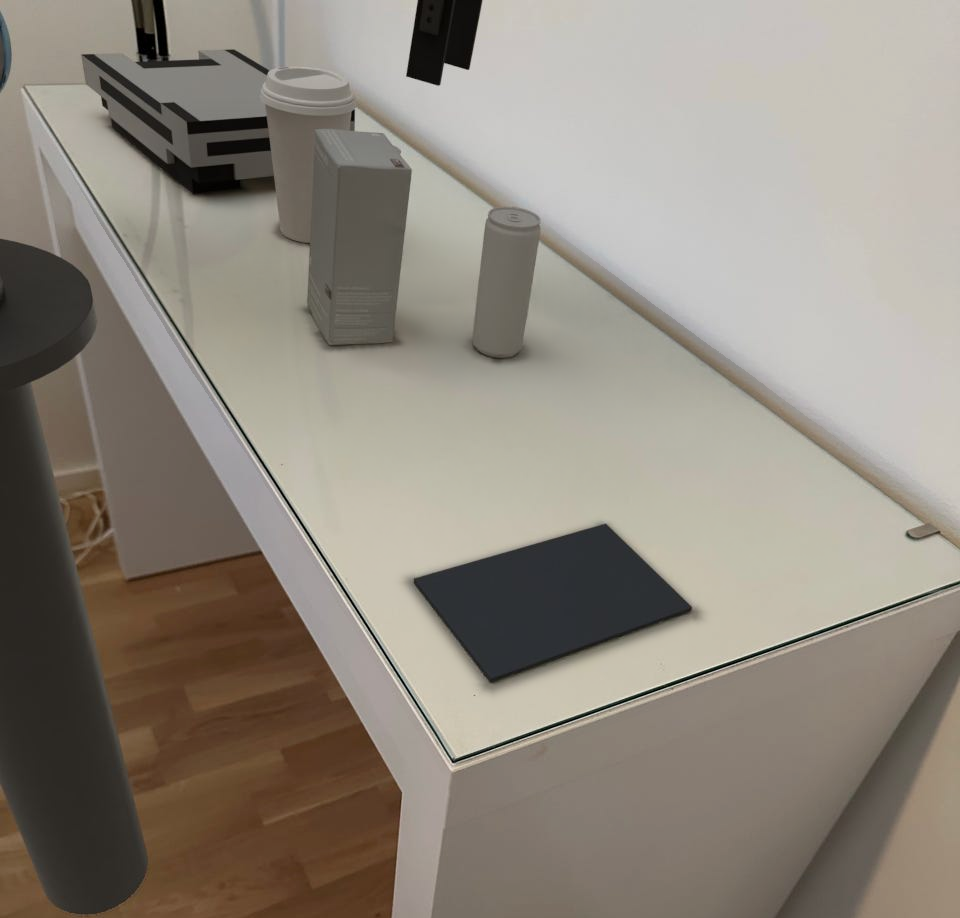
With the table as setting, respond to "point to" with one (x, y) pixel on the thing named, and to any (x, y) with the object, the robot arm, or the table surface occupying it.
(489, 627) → the mat
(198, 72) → the game console
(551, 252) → the table surface
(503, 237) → the beverage can
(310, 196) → the coffee cup
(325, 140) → the cosmetic box
